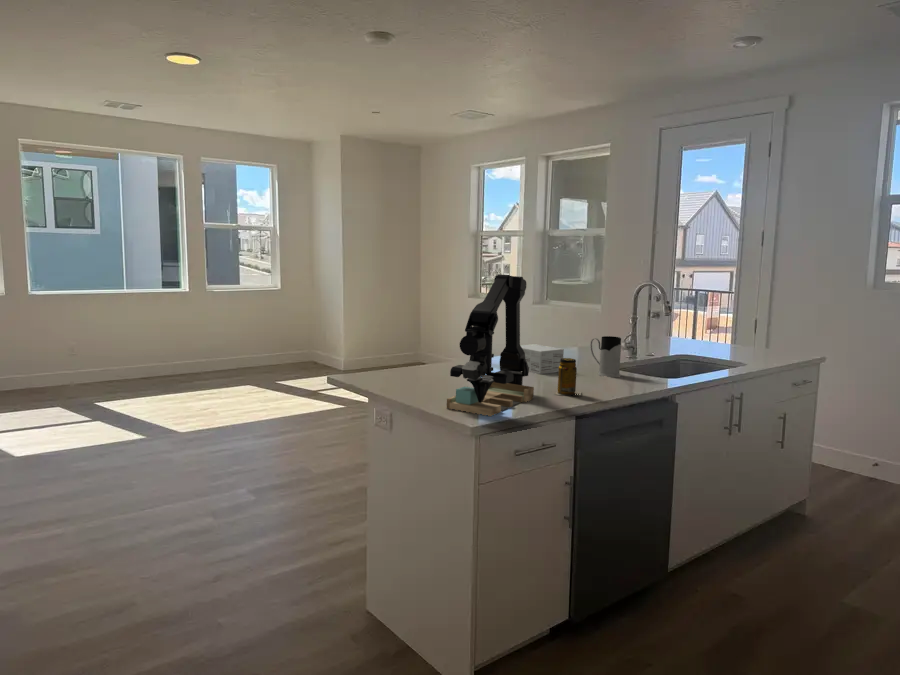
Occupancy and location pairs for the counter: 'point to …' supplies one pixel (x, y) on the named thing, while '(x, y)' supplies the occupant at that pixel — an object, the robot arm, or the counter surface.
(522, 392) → the tray
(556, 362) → the supplement box
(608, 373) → the black and white mug
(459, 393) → the block
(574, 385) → the condiment
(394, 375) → the counter surface
